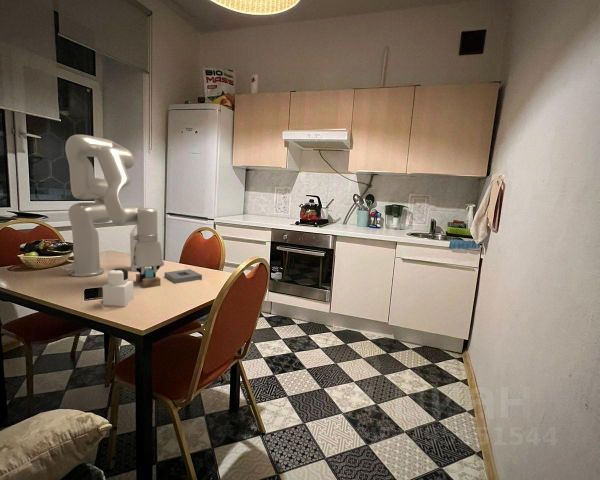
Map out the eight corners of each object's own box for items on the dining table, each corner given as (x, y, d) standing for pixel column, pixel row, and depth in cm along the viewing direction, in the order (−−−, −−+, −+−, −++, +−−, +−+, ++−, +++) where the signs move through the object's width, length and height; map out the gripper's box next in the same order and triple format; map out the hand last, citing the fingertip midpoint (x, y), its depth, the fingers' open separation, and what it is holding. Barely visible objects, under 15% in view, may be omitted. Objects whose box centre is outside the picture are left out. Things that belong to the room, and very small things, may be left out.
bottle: (131, 272, 148) (129, 208, 144) (130, 267, 155) (129, 206, 151) (150, 270, 152) (149, 208, 148) (148, 266, 159) (148, 207, 155)
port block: (175, 284, 134) (175, 278, 133) (164, 277, 142) (164, 272, 142) (201, 280, 142) (201, 274, 142) (190, 274, 151) (190, 269, 150)
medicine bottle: (113, 299, 113) (112, 266, 112) (133, 299, 114) (133, 267, 112) (102, 306, 106) (101, 271, 105) (124, 307, 107) (123, 272, 105)
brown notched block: (145, 289, 126) (144, 280, 125) (136, 282, 134) (135, 274, 133) (160, 286, 130) (160, 278, 129) (150, 280, 138) (150, 272, 137)
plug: (145, 285, 129) (145, 270, 128) (142, 282, 132) (142, 268, 131) (153, 283, 131) (153, 269, 130) (150, 281, 134) (150, 267, 133)
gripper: (128, 241, 121) (129, 287, 123) (171, 238, 132) (171, 281, 135) (122, 238, 126) (123, 282, 129) (164, 236, 137) (164, 277, 140)
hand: (148, 281), depth 132 cm, fingers closed on plug, 2 cm apart
